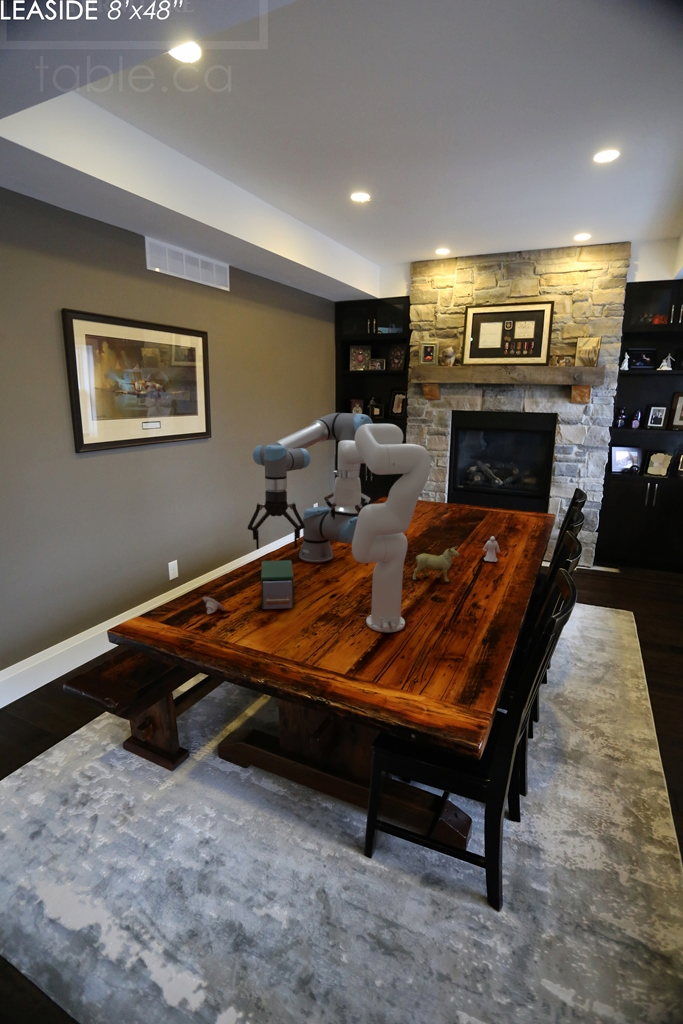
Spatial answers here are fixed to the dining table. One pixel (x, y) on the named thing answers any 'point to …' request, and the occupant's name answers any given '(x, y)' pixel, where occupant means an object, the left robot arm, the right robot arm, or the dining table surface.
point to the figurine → (491, 550)
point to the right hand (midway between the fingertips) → (346, 519)
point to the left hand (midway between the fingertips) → (276, 547)
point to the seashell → (212, 605)
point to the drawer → (277, 594)
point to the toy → (436, 563)
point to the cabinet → (277, 573)
